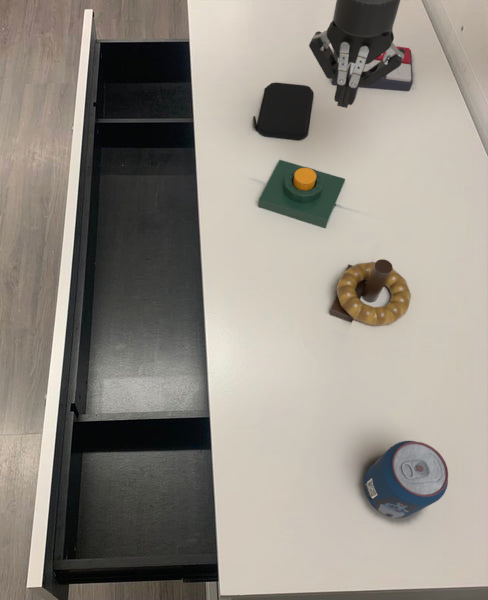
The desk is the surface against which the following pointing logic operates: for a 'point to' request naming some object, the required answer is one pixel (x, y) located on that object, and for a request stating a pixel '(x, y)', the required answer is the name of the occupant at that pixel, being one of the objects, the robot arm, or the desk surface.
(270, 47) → the desk surface
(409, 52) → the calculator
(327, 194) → the green push button box
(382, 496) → the soda can
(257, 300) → the desk surface
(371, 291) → the stand
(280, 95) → the carrying case
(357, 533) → the desk surface
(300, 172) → the button
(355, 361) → the desk surface
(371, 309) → the ring
